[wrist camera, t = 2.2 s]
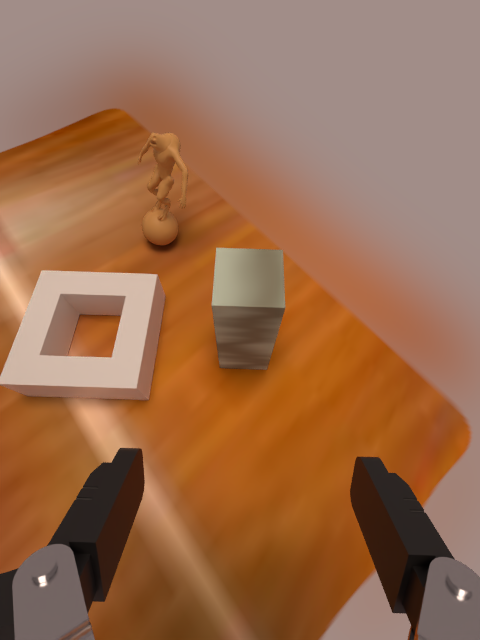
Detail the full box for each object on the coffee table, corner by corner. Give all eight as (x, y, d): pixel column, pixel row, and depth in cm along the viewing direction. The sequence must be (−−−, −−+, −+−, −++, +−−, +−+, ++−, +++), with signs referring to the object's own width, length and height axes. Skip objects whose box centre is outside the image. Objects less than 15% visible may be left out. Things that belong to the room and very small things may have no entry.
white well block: (27, 395, 28) (-3, 383, 25) (62, 292, 33) (41, 270, 30) (148, 400, 28) (136, 388, 25) (165, 296, 33) (157, 274, 30)
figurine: (131, 226, 38) (91, 125, 27) (173, 204, 40) (151, 102, 29) (168, 270, 35) (139, 177, 24) (212, 244, 37) (203, 148, 26)
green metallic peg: (219, 368, 30) (211, 305, 19) (222, 325, 32) (216, 247, 21) (266, 369, 30) (285, 307, 19) (266, 327, 32) (282, 250, 21)
